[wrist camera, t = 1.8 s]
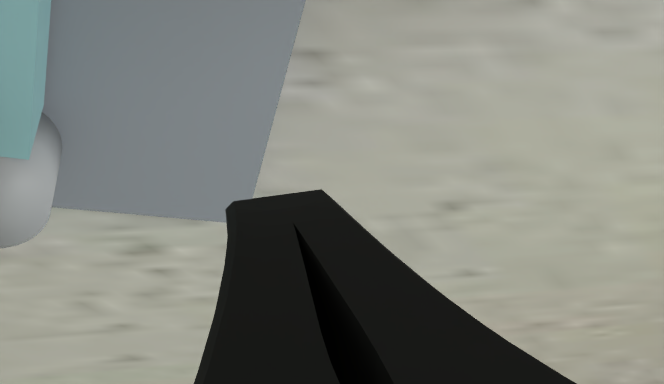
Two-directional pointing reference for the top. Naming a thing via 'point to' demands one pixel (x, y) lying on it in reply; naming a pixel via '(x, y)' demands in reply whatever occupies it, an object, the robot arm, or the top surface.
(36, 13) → the lock lever
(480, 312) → the top surface
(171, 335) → the top surface
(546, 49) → the top surface
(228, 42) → the post board
